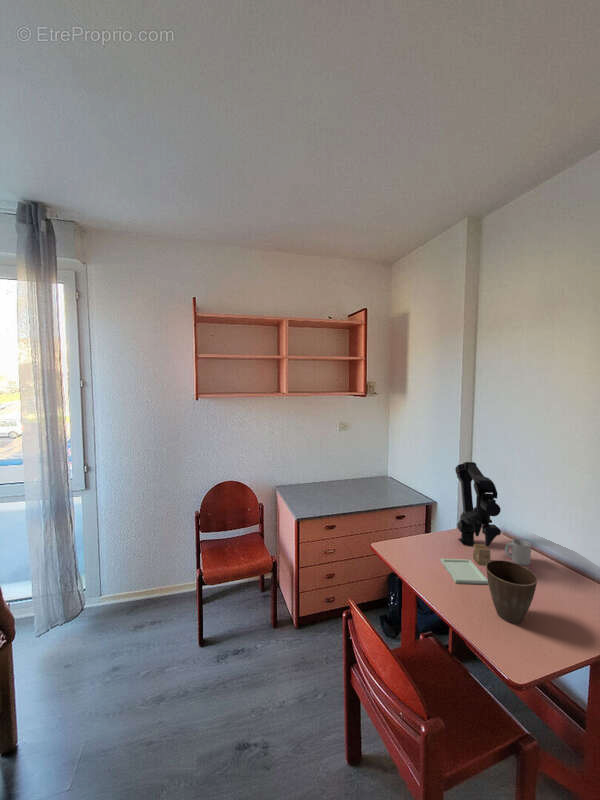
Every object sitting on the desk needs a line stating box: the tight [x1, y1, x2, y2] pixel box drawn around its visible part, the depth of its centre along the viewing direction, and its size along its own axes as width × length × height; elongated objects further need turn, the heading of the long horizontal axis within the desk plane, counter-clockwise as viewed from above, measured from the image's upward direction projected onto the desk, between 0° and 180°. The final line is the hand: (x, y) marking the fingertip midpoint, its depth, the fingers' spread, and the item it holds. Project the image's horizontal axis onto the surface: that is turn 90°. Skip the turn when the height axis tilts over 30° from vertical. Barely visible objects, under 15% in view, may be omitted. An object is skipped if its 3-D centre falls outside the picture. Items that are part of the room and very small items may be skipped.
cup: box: [504, 538, 532, 566], centre depth 149 cm, size 7×10×9 cm
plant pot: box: [485, 559, 538, 624], centre depth 113 cm, size 15×15×16 cm
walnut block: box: [472, 543, 491, 566], centre depth 148 cm, size 5×5×7 cm
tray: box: [440, 558, 489, 586], centre depth 140 cm, size 16×13×2 cm
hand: (482, 540), depth 148 cm, fingers open, 9 cm apart
